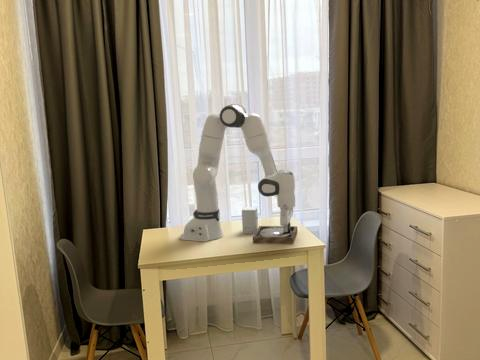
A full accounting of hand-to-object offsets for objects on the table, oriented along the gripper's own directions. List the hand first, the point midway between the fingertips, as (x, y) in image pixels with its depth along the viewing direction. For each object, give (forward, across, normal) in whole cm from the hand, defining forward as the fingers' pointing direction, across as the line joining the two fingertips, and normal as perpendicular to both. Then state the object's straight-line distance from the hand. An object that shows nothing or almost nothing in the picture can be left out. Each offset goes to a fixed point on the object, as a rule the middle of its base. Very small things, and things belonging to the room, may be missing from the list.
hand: (286, 229), depth 247 cm
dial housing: (+4, 0, +6) cm, 7 cm away
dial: (+3, 0, +6) cm, 7 cm away
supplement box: (+5, +10, +21) cm, 24 cm away
